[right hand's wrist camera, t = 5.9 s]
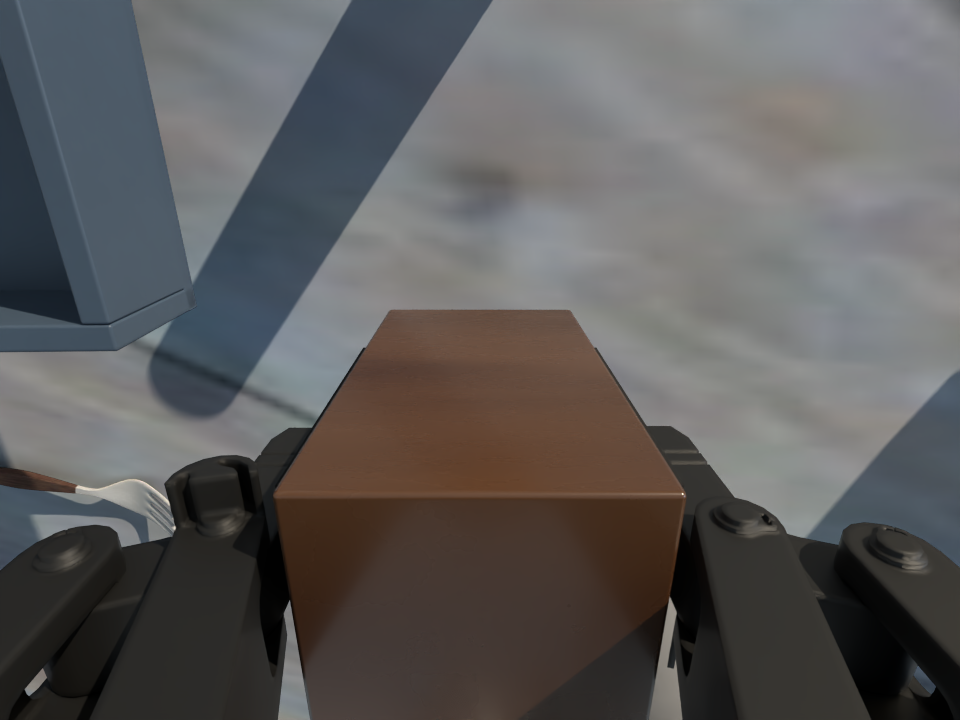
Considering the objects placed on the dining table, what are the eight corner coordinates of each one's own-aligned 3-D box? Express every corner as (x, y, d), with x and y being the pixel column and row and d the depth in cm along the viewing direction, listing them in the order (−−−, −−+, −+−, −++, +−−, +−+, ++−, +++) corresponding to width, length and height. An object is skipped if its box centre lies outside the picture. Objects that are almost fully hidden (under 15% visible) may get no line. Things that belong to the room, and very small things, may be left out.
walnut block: (560, 466, 16) (642, 769, 8) (399, 465, 16) (316, 769, 8) (571, 309, 14) (689, 493, 6) (389, 308, 14) (269, 493, 6)
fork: (-76, 438, 31) (-112, 456, 29) (194, 488, 32) (177, 509, 30) (-69, 473, 32) (-103, 493, 30) (193, 521, 33) (176, 543, 31)
